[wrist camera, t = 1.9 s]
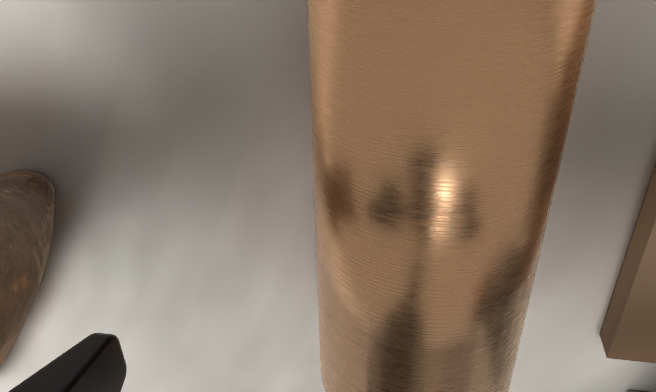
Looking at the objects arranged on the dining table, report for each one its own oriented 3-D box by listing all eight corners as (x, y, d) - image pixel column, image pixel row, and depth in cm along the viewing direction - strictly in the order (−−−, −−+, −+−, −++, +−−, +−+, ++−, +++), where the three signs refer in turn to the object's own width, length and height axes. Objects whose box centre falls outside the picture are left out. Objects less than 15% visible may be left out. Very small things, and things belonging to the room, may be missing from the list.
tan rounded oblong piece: (465, 291, 20) (544, 428, 16) (307, 314, 20) (342, 466, 15) (520, -87, 14) (683, -44, 9) (287, -77, 13) (338, -23, 8)
